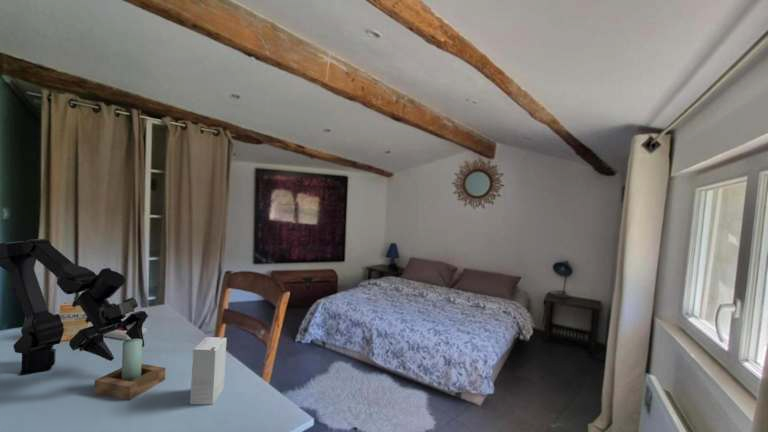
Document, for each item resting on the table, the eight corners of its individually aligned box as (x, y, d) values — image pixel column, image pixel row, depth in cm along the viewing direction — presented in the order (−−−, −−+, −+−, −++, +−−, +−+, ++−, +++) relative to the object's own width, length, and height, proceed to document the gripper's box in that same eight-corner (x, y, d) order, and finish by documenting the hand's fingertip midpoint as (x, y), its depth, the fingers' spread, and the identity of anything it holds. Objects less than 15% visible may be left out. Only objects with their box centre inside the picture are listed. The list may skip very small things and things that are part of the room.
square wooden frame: (94, 393, 92) (94, 380, 92) (132, 373, 103) (133, 362, 103) (129, 400, 90) (129, 386, 90) (164, 379, 101) (165, 367, 101)
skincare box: (202, 388, 97) (205, 336, 97) (225, 388, 98) (227, 336, 97) (189, 405, 89) (191, 348, 88) (213, 405, 89) (216, 348, 89)
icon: (152, 321, 135) (128, 330, 126) (152, 332, 136) (128, 342, 126) (127, 317, 138) (101, 325, 128) (127, 328, 138) (101, 337, 129)
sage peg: (118, 391, 94) (119, 345, 93) (125, 382, 98) (127, 338, 98) (136, 389, 95) (138, 344, 94) (143, 381, 99) (145, 338, 99)
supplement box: (57, 342, 122) (58, 305, 121) (60, 337, 126) (61, 301, 125) (88, 338, 126) (89, 302, 126) (90, 334, 130) (91, 299, 130)
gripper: (79, 299, 88) (113, 348, 86) (144, 284, 106) (173, 324, 104) (54, 325, 90) (86, 374, 88) (122, 306, 108) (150, 346, 106)
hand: (128, 352), depth 96 cm, fingers open, 9 cm apart
